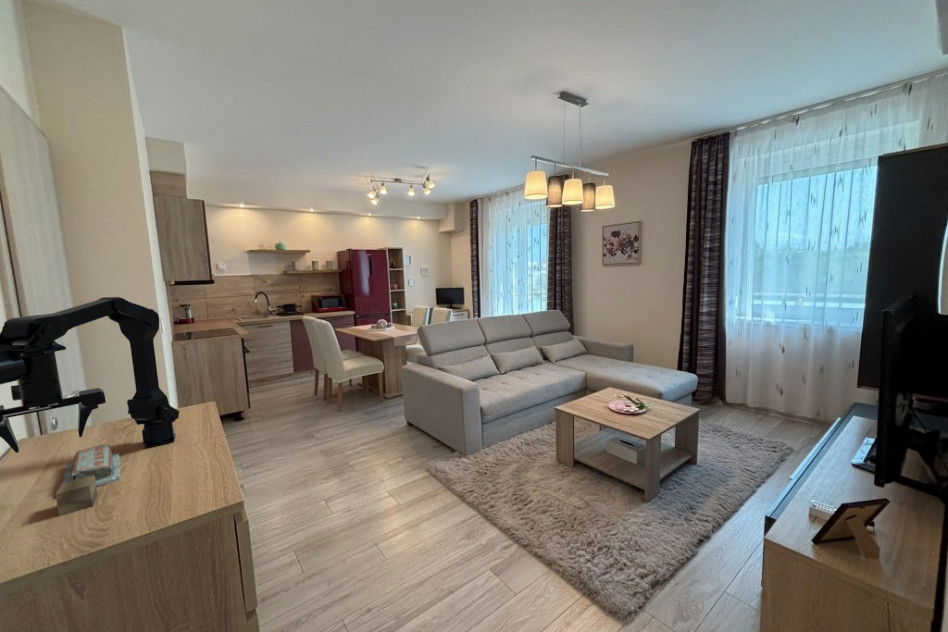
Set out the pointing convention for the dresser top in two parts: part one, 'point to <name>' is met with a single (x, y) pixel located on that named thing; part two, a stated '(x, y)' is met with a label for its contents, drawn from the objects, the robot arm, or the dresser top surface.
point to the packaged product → (94, 465)
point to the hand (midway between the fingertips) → (50, 444)
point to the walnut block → (76, 495)
